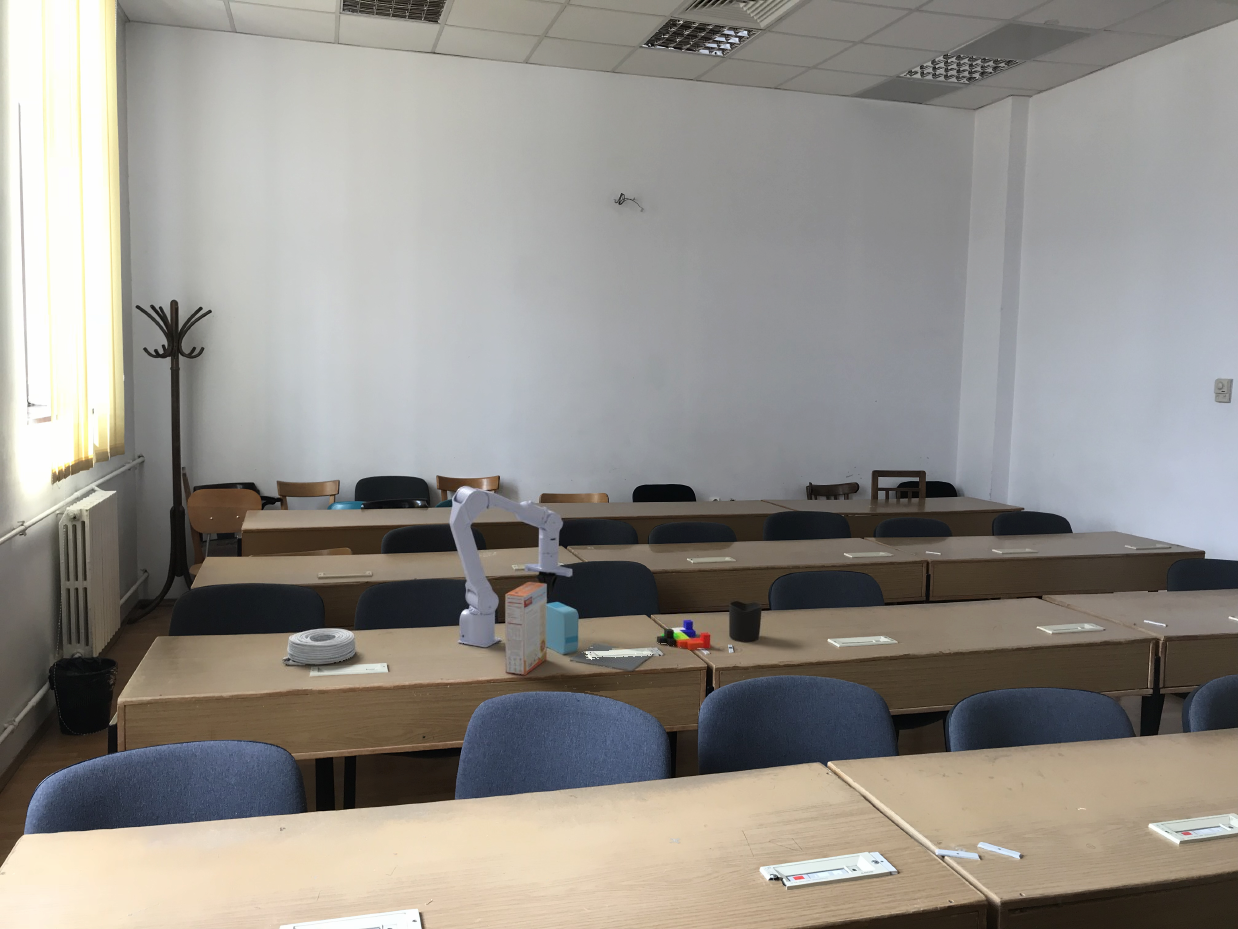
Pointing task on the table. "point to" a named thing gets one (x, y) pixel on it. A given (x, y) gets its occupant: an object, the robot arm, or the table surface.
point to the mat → (610, 658)
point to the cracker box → (526, 627)
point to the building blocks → (684, 637)
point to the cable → (320, 647)
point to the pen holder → (744, 621)
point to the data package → (562, 628)
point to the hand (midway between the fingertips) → (547, 597)
